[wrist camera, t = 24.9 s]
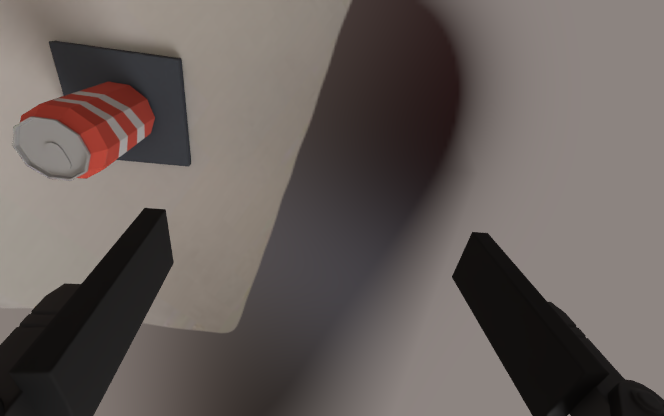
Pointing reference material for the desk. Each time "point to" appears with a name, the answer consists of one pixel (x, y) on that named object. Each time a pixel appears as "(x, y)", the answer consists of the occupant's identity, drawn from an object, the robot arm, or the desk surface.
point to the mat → (146, 78)
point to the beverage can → (82, 130)
